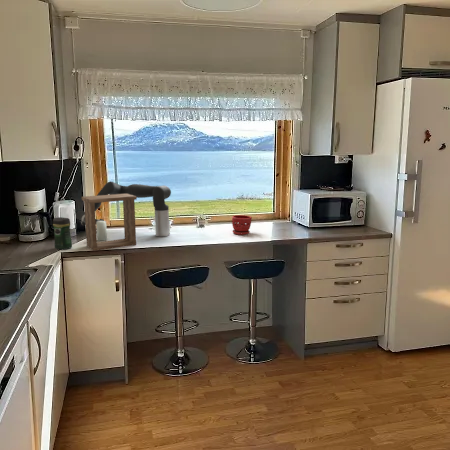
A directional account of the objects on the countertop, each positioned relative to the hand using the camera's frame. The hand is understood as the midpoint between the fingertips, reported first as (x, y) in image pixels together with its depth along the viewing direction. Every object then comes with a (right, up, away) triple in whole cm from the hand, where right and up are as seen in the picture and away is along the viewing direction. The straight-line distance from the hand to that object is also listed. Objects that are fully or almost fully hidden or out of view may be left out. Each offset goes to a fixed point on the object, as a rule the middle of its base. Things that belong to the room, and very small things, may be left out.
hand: (95, 224), depth 286 cm
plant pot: (+97, -7, +11) cm, 98 cm away
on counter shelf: (+16, -13, -22) cm, 31 cm away
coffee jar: (-10, -15, -29) cm, 34 cm away
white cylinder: (+6, -10, -8) cm, 14 cm away
